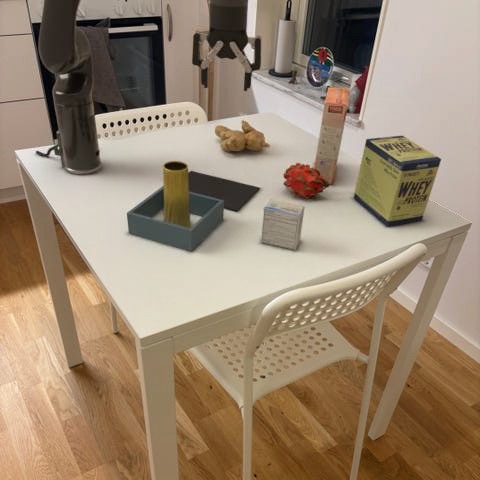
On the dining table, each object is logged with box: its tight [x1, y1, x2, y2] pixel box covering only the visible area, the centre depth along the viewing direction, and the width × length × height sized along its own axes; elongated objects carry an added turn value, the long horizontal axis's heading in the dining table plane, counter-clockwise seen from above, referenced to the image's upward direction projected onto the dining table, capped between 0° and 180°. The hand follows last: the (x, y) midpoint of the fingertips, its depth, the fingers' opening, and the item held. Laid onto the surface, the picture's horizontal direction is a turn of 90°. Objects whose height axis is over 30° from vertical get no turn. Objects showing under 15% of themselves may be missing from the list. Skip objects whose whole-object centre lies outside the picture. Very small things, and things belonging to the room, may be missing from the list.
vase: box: [162, 160, 192, 228], centre depth 111 cm, size 6×6×14 cm
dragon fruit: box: [282, 162, 330, 200], centre depth 129 cm, size 8×8×12 cm
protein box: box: [353, 135, 442, 227], centre depth 123 cm, size 10×16×16 cm
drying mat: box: [188, 170, 260, 213], centre depth 130 cm, size 20×14×1 cm
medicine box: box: [260, 199, 305, 251], centre depth 110 cm, size 8×4×9 cm, turn 71°
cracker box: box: [313, 86, 351, 186], centre depth 135 cm, size 14×6×21 cm, turn 168°
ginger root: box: [214, 120, 271, 153], centre depth 151 cm, size 16×16×8 cm
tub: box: [126, 185, 225, 252], centre depth 114 cm, size 16×16×5 cm
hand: (225, 88), depth 111 cm, fingers open, 8 cm apart
